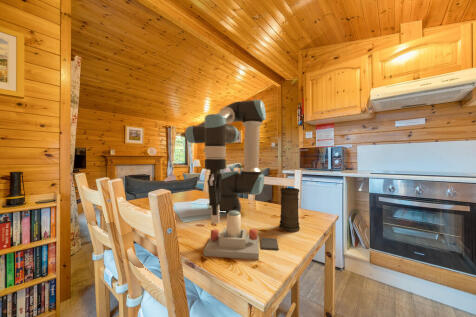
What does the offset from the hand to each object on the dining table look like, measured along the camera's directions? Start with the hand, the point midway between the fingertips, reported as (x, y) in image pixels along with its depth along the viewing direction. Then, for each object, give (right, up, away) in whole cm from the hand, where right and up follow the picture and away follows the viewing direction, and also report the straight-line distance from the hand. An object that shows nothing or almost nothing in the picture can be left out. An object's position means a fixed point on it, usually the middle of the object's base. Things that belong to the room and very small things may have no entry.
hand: (215, 222), depth 69 cm
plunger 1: (0, -6, 0) cm, 6 cm away
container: (+32, -9, +17) cm, 37 cm away
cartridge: (+7, -7, -1) cm, 9 cm away
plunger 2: (+14, -5, -2) cm, 15 cm away
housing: (+7, -9, -1) cm, 11 cm away
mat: (+20, -9, +2) cm, 22 cm away
